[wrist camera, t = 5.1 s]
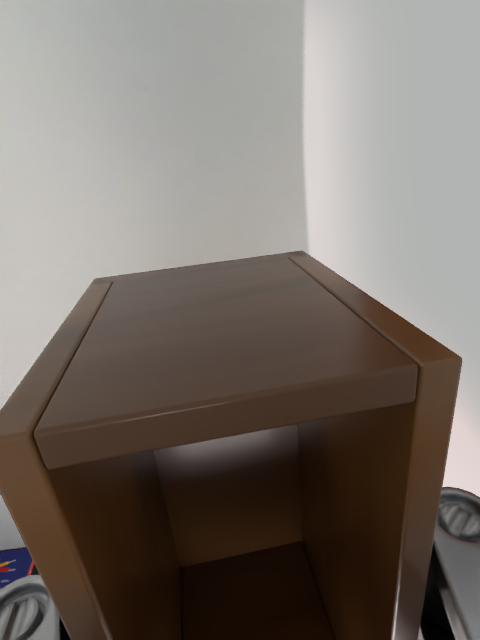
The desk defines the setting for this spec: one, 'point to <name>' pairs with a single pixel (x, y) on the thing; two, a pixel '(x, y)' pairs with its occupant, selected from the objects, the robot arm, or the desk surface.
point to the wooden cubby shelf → (232, 457)
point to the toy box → (14, 565)
